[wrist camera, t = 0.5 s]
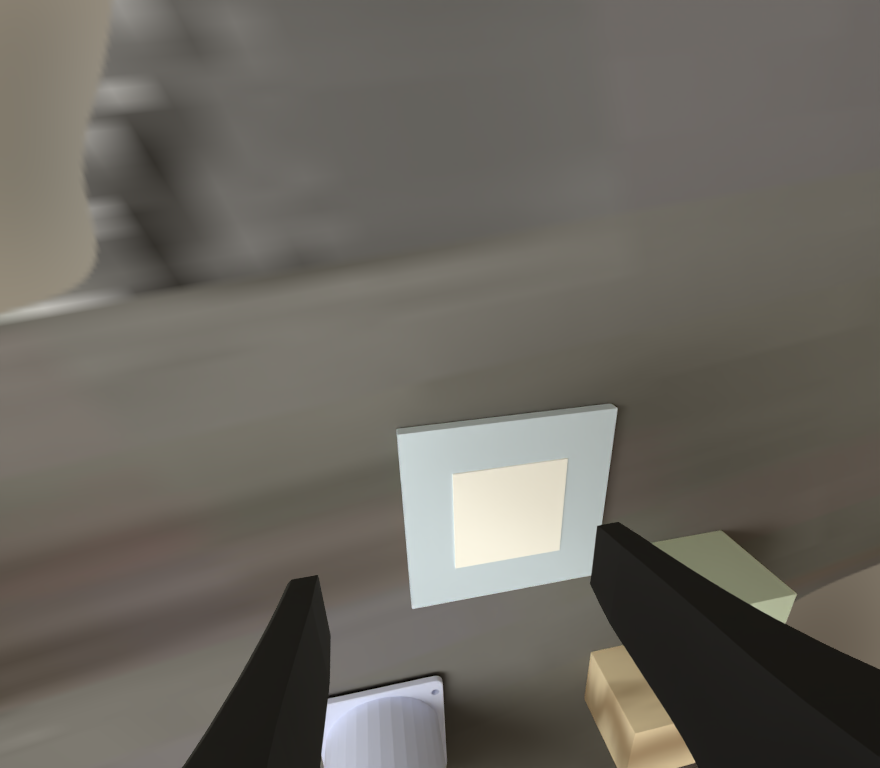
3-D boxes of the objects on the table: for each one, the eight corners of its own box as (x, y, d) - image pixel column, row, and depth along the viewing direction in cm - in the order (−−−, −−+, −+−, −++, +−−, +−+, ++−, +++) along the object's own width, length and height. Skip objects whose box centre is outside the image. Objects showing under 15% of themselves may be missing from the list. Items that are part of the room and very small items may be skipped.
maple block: (645, 682, 31) (694, 762, 26) (583, 697, 30) (624, 782, 26) (655, 636, 29) (711, 713, 24) (590, 650, 28) (635, 733, 24)
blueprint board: (589, 566, 25) (595, 575, 24) (411, 599, 23) (412, 610, 23) (610, 403, 21) (618, 408, 20) (396, 428, 19) (397, 435, 19)
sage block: (704, 587, 28) (772, 658, 23) (638, 601, 27) (695, 677, 23) (719, 529, 26) (796, 593, 22) (649, 542, 25) (714, 611, 21)
